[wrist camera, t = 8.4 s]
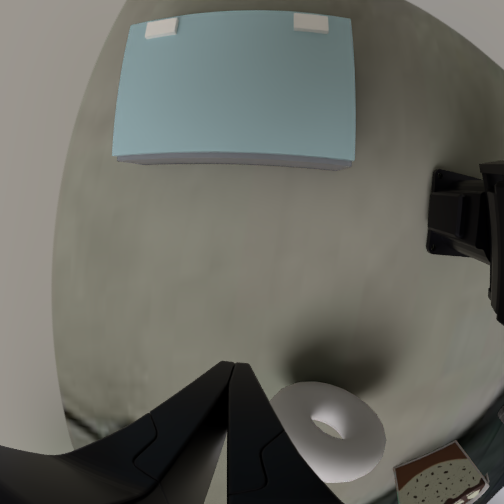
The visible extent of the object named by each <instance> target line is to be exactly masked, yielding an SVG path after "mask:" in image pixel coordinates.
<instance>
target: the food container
mask: <svg viewBox="0 0 504 504" xmlns="http://www.w3.org/2000/svg"><path fill="white" fill-rule="evenodd" d="M393 471H394V477H395V483H396V489H397V495H398V502H399V504H472V503H473V502H475V501H476V500H477V499H478V498H479V497H480V496H481V495H482V494H483V493H484V492H485V491H486V490H487V489H488V488H489V484H488V483H489V478H488V474H486V475H485V477H483V475H482V474H481V472H480V471H479V470H478V468H477V467H476V466H475V464H474V463H473V462H472V460H471V459H470V458H469V456H468V455H467V454H466V452H465V451H464V450H463V448H462V447H461V446H460V445H459V443H458V442H457V441H456V440H455V441H453V442H451V443H449V444H447V445H445V446H443V447H441V448H439V449H437V450H435V451H432V452H430V453H428V454H426V455H423V456H421V457H419V458H416V459H414V460H411V461H409V462H406V463H404V464H401V465H398V466H396V467H393Z"/></svg>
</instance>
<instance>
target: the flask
mask: <svg viewBox="0 0 504 504" xmlns="http://www.w3.org/2000/svg"><path fill="white" fill-rule="evenodd" d="M498 417H499V418H500V420H501V421H502V422H503V424H504V405H503V406H502V407H501V409H500V410H499V412H498Z"/></svg>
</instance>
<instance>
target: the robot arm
mask: <svg viewBox="0 0 504 504" xmlns="http://www.w3.org/2000/svg"><path fill="white" fill-rule="evenodd" d="M479 167H480V172H481V173H482V176H483V180H481V179H477V178H474V177H470V176H466V175H462V174H458V173H454V172H450V171H446V170H441V169H438V170H435V171H434V172H433V180H432V194H431V195H430V208H429V219H428V228H429V230H428V238H427V245H426V249H427V251H428V252H429V253H431V254H437V255H450V256H462V257H472V258H474V259H477V260H479V261H481V262H484V263H486V264H488V265H490V288H489V289H488V297H489V299H490V300H491V306H492V308H493V309H494V311H495V313H496V314H497V318H496V319H497V321H498V322H499V323H501V324H502V325H503V326H504V160H502V161H495V162H488V163H482V164H479ZM438 173H439V174H440V179H439V178H438ZM432 245H434V248H433V249H432V250H431V247H432ZM226 434H227V504H344V503H343V502H342V501H341V500H340V499H339V498H338V497H337V496H336V495H335V494H334V493H333V492H332V491H331V490H330V489H329V487H328V486H327V485H326V484H325V483H324V482H323V481H322V480H321V479H320V477H319V476H318V475H317V474H316V473H315V472H314V471H313V469H312V468H311V467H310V466H309V465H308V463H307V462H306V461H305V460H304V458H303V457H302V456H301V455H300V453H299V452H298V450H297V449H296V447H295V445H294V444H293V442H292V441H291V439H290V437H289V436H288V434H287V432H285V429H284V427H283V425H282V424H281V422H280V420H279V418H278V416H277V415H276V413H275V411H274V409H273V407H272V406H271V404H270V402H269V400H268V398H267V396H266V394H265V393H264V391H263V389H262V387H261V385H260V383H259V381H258V379H257V378H256V376H255V374H254V372H253V370H252V368H251V366H250V364H248V363H238V362H237V363H234V362H228V361H220V362H219V363H218V364H216V365H215V366H214V367H212V368H211V369H210V370H208V371H207V372H206V373H204V374H203V375H201V376H200V377H199V378H197V379H196V380H195V381H193V382H192V383H190V384H189V385H188V386H186V387H185V388H183V389H182V390H181V391H179V392H178V393H176V394H175V395H173V396H172V397H171V398H169V399H168V400H166V401H165V402H163V403H162V404H160V405H159V406H158V407H156V408H155V409H153V410H152V411H150V413H147V414H145V415H144V416H142V417H141V418H139V419H138V420H136V421H134V422H133V423H131V424H129V425H128V426H126V427H124V428H122V429H120V430H119V431H117V432H115V433H113V434H111V435H109V436H106V437H104V438H102V439H100V440H98V441H95V442H93V443H91V444H88V445H86V446H84V447H81V448H79V449H77V450H74V451H72V452H69V453H65V454H61V455H44V454H38V453H32V452H26V451H22V450H17V449H13V448H9V447H5V446H1V445H0V504H204V501H205V498H206V495H207V492H208V489H209V486H210V483H211V480H212V477H213V474H214V471H215V468H216V465H217V462H218V459H219V456H220V453H221V450H222V447H223V444H224V441H225V438H226Z"/></svg>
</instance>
